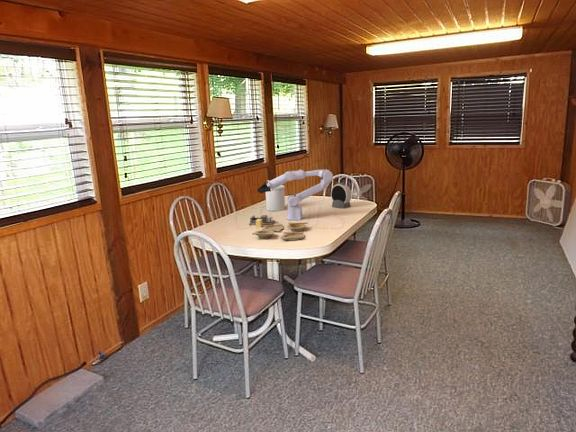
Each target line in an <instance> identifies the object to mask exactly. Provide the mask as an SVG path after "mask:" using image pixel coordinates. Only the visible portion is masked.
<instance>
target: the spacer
mask: <svg viewBox="0 0 576 432" xmlns="http://www.w3.org/2000/svg"><path fill="white" fill-rule="evenodd" d="M255 228H263V225H262V219H257V220H256V225H255Z"/></svg>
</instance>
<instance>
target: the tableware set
mask: <svg viewBox="0 0 576 432" xmlns="http://www.w3.org/2000/svg"><path fill="white" fill-rule="evenodd" d="M307 225H308V222H306V221H304V222H287V226H286V227H287V228H288V229H290V230H291V231H283V234H282V235H280V239H281V240H284V241H298V240H302V239H304V238H305V235H304V232H302V231H303V230H304V229H305V228H306V227H307ZM282 230H284V226H283V224H282V223H277V224H272V225H263V226H262V227H261V229H260V230H259V229H258V230H256V231H254V232H251V235H256V236H257V237H258V238H259V239H269V238H271V236H272V235H274V234H275V232H281V231H282Z"/></svg>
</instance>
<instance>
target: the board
mask: <svg viewBox="0 0 576 432" xmlns="http://www.w3.org/2000/svg"><path fill="white" fill-rule="evenodd" d="M275 223H276V220H275V219H273V221H272V222H266V223H262V225H274V224H275ZM248 225H249V226H256V223H250V222H249V223H248Z"/></svg>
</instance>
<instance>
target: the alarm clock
mask: <svg viewBox="0 0 576 432" xmlns="http://www.w3.org/2000/svg"><path fill="white" fill-rule="evenodd" d="M330 197H331V200H332V203H331V204H332V205H331V207H332V208H335V209H349V208H351V202H350V201H351V200H352V192H351V188H350V187H349V186H348V185H347V184H346V183H345V182H337V183H336V184H334V185H333V186H332V188H331V190H330Z"/></svg>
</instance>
